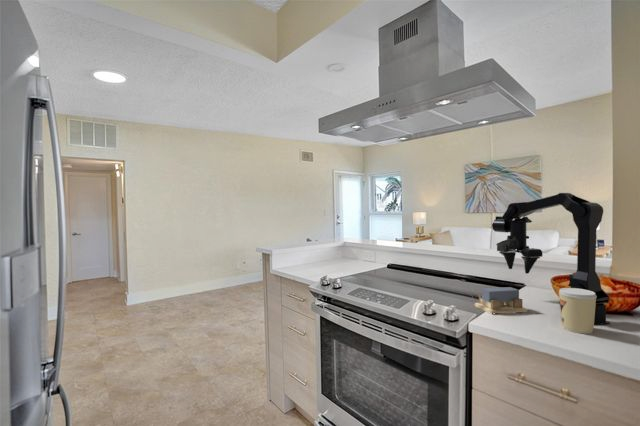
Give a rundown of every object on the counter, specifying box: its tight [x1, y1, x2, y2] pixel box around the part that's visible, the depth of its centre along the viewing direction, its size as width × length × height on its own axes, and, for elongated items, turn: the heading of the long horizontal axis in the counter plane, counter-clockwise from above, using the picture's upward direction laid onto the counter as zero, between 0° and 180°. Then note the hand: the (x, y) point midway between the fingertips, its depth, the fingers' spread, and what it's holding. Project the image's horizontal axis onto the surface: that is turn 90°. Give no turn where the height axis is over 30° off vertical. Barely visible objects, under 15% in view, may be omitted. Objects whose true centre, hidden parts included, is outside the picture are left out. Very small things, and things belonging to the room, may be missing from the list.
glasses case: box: [481, 286, 520, 302], centre depth 122 cm, size 4×12×4 cm, turn 97°
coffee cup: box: [558, 287, 597, 335], centre depth 101 cm, size 9×9×12 cm
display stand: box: [474, 294, 528, 314], centre depth 122 cm, size 10×14×4 cm
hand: (518, 271), depth 132 cm, fingers open, 9 cm apart
